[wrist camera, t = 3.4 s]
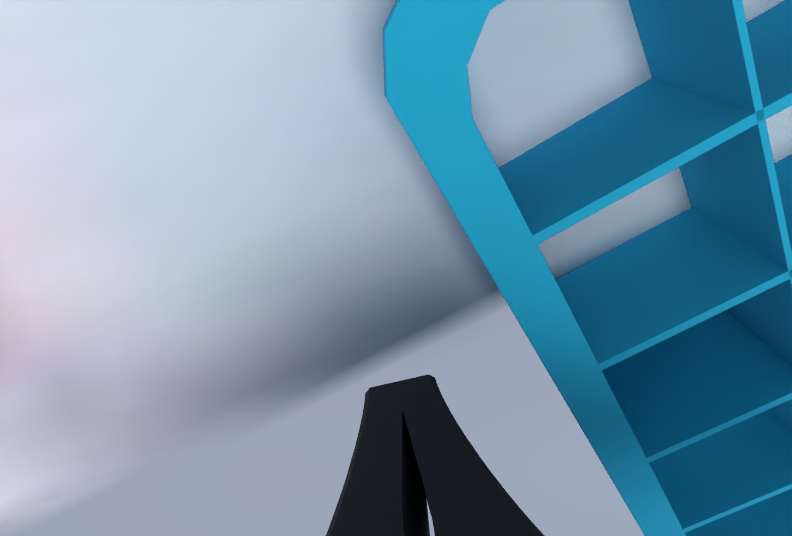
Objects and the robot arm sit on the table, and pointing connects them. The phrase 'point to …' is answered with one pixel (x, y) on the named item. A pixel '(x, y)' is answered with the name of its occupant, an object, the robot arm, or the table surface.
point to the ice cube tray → (641, 251)
